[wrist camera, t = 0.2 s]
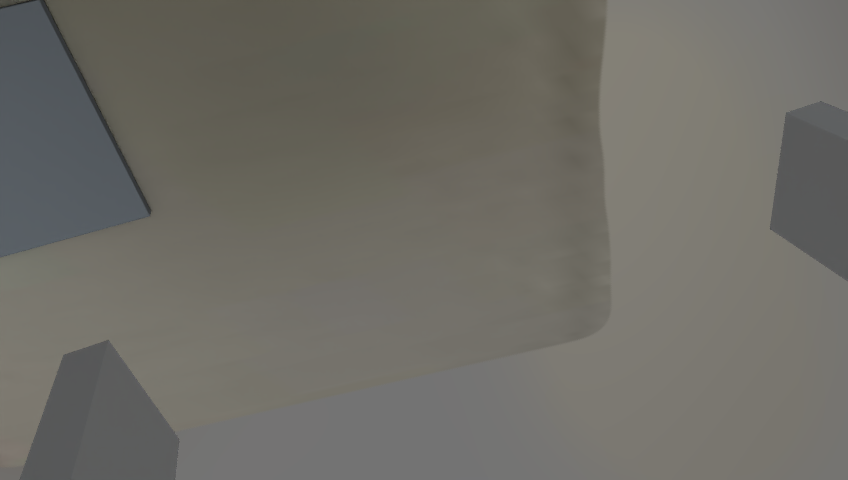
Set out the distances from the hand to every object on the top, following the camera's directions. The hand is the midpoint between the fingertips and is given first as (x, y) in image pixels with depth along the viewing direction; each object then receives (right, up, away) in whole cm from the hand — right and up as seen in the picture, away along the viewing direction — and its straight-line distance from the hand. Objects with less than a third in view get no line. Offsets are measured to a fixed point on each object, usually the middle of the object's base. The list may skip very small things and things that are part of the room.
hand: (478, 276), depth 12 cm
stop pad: (-25, +6, +22) cm, 34 cm away
